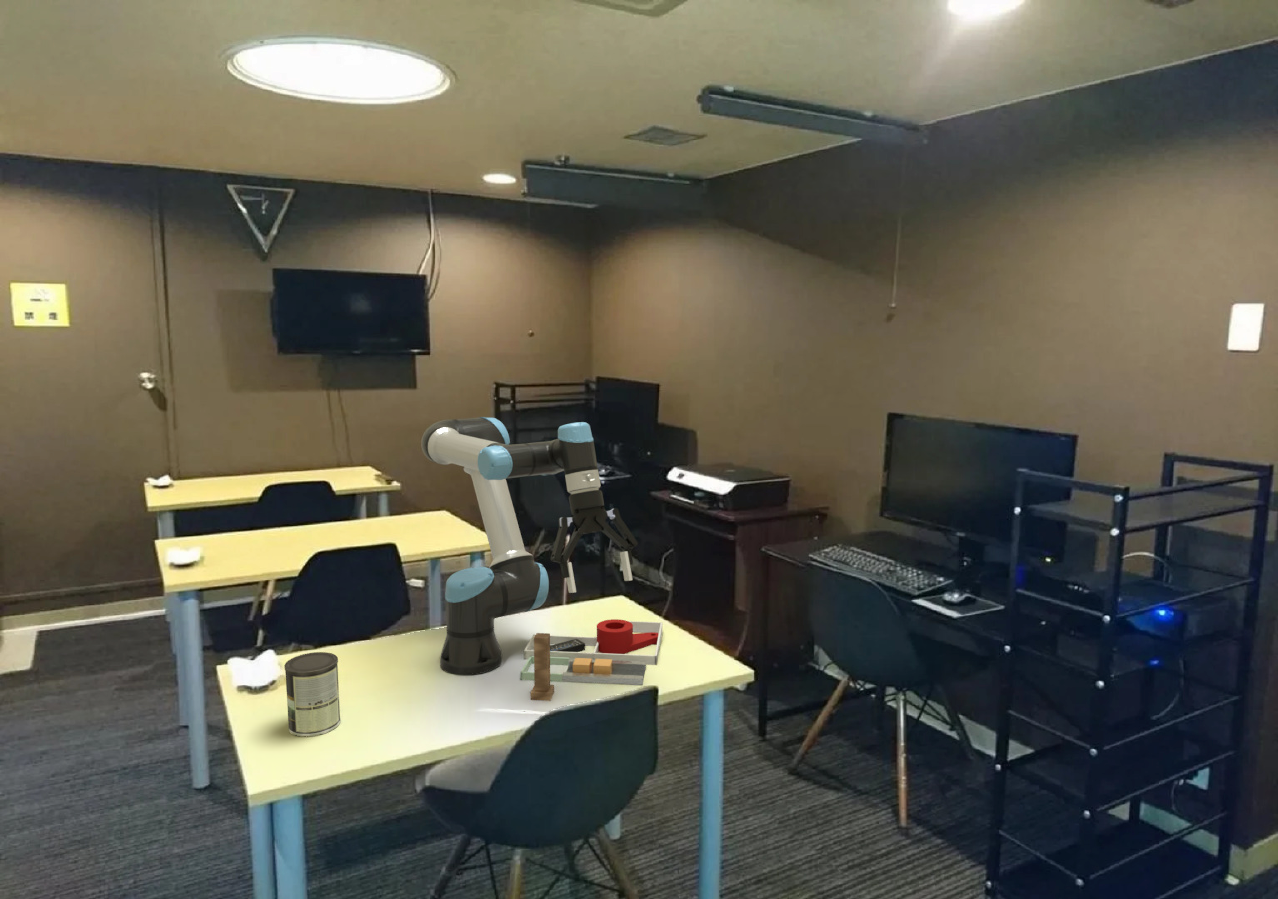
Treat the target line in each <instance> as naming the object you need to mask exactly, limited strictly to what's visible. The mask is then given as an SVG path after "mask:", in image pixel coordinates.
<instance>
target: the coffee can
mask: <svg viewBox="0 0 1278 899" xmlns="http://www.w3.org/2000/svg"><path fill="white" fill-rule="evenodd" d="M338 663H339V658H338V656H337V655H336V654H334V653H331V652H326V651H317V652H307V653H304V654H300V655H296V656H294V657H292V658H290V659H288V660H287V661H286V662H285V663H284V666H283V667H284V671H285V683H286V684H285V686H286V699H287V700H286V702H287V719H288V720H287V721H288V728H287V730H288V732H289V733H290V734H291V735H293V734H294V735H293V736H295V735H297V736H296V737H299V736H306V737H305V738H308V737H307V736H311V737H316V736H315V735H318V736H320V735H319V734H322V735H324V734H327V733H330V732H332V731H333V730H335V729H336V728H338V726H339V725H340V723H341V722H342V721H341V710H340V708H341V707H340V687H339V668H338Z"/></svg>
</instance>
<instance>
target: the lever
mask: <svg viewBox="0 0 1278 899" xmlns="http://www.w3.org/2000/svg"><path fill="white" fill-rule="evenodd" d="M628 621H629V620H625V619H620V618H619V619H617V618H616V619H615V618H613V619H605V620H602V621H600V622H598V623H597V624H596V637H597V642H598V643H599V652H598V653H609V654H629V653H632V652H634V651H637V650H641V649H643V648H647V647H650V646H657V641H658V635H659V633H656V632H650V633H640V632H636V633H634V632H633V624H632V623H630V622H628Z"/></svg>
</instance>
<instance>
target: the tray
mask: <svg viewBox="0 0 1278 899" xmlns="http://www.w3.org/2000/svg"><path fill="white" fill-rule="evenodd" d="M569 659H570V658H564V657H550V666H551V665H553V666H555V665H556V666H568V661H569ZM532 664H534V656H530V657H529V659H526V662H525V664H524V666H523V667H522V669H521V671H520V674H519V675H520V681H534V671H532V672H531V671H529V669H530V667H531V665H532ZM562 675H563V673H559V672H558V673H555V672H554V673H553V672H550V682H562Z"/></svg>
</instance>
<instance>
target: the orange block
mask: <svg viewBox="0 0 1278 899" xmlns="http://www.w3.org/2000/svg"><path fill="white" fill-rule="evenodd" d="M611 673H612V659H596V660H595V663H594V665H593V674H611Z"/></svg>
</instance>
